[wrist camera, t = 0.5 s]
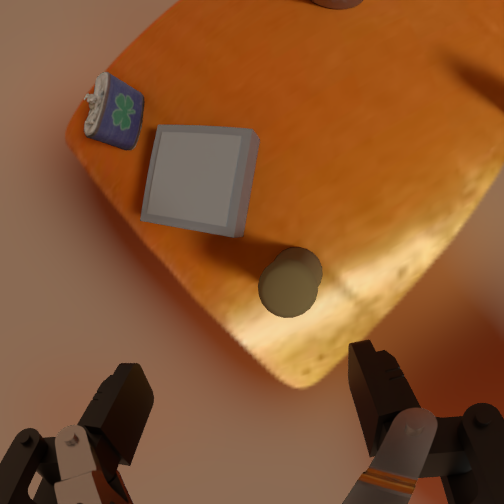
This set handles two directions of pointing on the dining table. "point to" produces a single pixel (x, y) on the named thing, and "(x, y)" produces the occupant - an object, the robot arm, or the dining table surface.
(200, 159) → the gray rectangular box
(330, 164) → the dining table surface
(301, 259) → the cork
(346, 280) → the dining table surface
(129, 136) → the flask
